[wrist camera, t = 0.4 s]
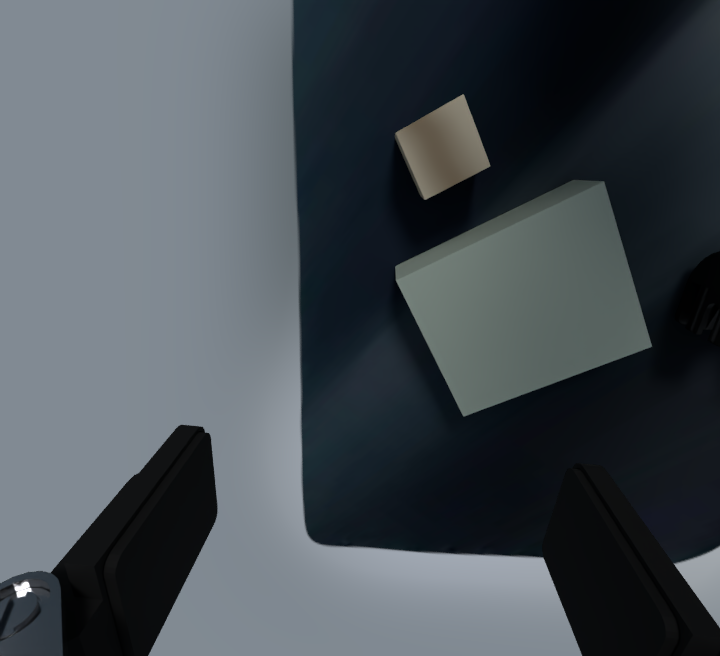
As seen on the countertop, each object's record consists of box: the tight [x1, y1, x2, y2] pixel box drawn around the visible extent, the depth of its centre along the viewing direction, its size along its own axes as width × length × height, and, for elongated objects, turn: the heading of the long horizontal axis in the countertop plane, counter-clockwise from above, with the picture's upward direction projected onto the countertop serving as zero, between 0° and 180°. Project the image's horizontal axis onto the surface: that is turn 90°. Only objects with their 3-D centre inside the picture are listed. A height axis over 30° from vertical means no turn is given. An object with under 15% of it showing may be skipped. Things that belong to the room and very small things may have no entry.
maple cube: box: [395, 94, 490, 200], centre depth 30 cm, size 5×5×5 cm
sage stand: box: [395, 180, 652, 417], centre depth 34 cm, size 16×14×5 cm
